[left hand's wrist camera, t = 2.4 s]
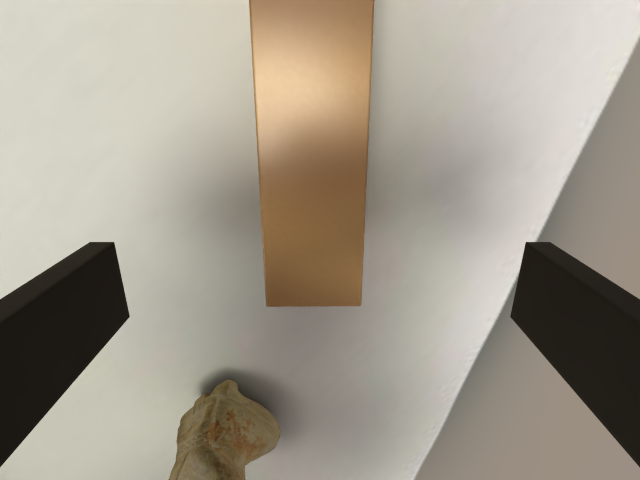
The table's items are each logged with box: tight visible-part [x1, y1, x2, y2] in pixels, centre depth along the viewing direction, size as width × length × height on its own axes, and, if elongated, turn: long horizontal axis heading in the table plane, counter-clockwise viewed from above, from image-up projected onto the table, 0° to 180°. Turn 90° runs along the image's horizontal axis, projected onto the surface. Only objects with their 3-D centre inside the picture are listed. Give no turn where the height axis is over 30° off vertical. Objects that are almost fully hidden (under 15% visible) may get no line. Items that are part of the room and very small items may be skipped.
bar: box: [249, 0, 374, 307], centre depth 18 cm, size 22×4×9 cm, turn 0°
